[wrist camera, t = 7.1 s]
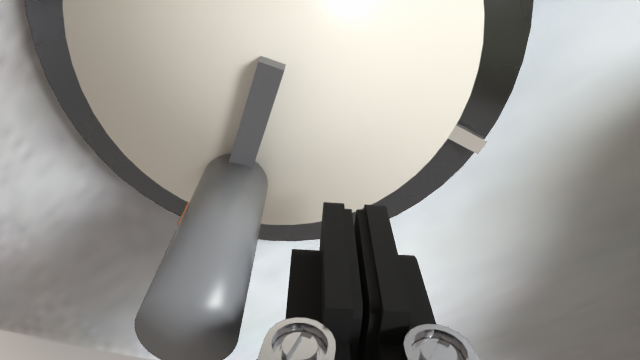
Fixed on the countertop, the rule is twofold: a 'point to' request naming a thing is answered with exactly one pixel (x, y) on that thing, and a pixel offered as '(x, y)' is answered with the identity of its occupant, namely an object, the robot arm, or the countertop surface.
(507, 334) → the countertop surface
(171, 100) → the dial
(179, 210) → the bezel
